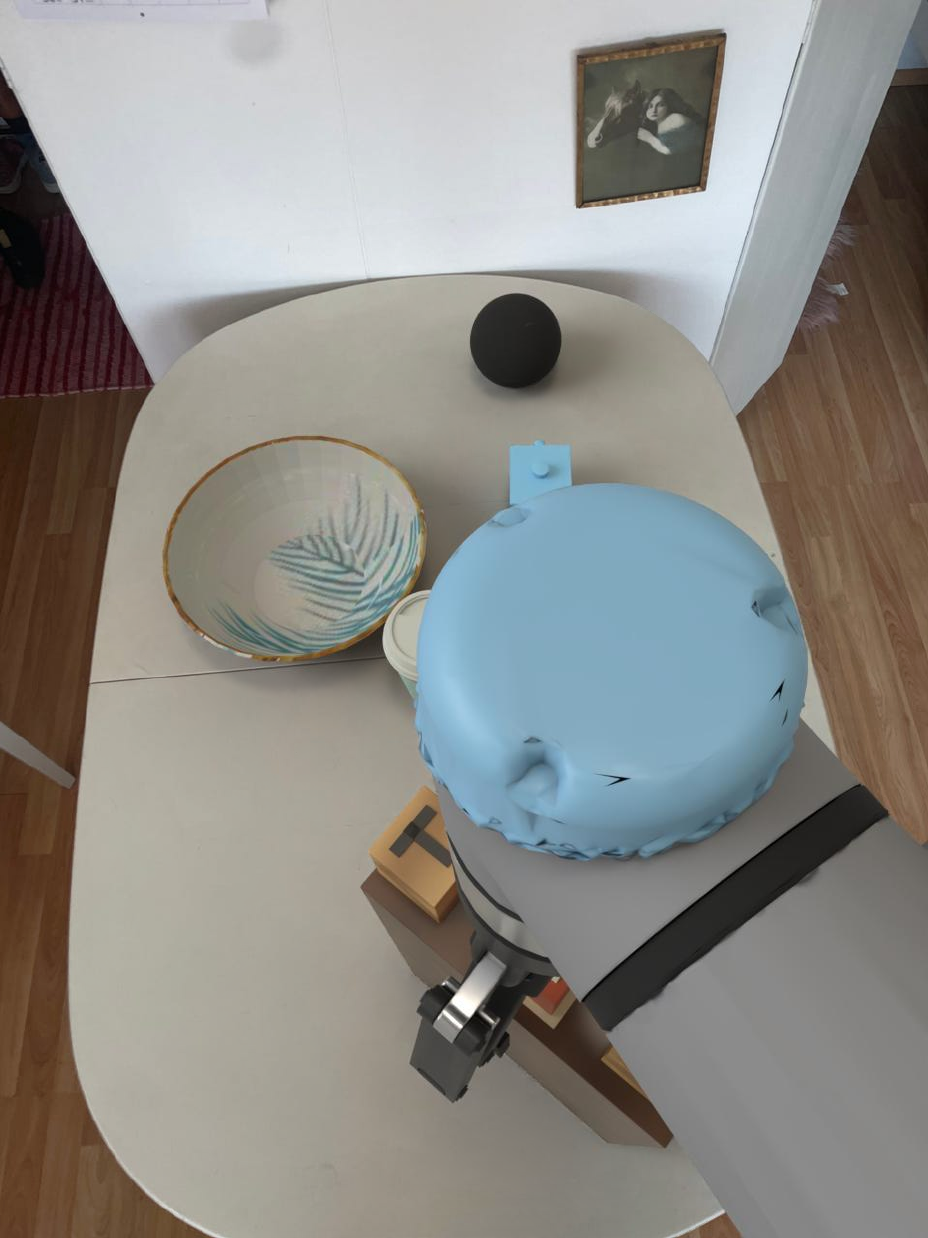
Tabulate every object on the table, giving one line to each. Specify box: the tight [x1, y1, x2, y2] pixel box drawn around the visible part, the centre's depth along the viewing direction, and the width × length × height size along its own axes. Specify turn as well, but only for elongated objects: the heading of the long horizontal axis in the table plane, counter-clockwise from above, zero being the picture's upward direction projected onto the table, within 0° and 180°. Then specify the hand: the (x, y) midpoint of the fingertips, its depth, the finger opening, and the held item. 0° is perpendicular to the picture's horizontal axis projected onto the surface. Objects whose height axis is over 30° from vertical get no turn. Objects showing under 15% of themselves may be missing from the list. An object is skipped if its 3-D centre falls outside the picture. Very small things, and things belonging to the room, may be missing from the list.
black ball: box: [469, 292, 563, 389], centre depth 107 cm, size 10×10×10 cm
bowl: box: [162, 435, 428, 663], centre depth 97 cm, size 25×25×8 cm
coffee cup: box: [382, 589, 431, 702], centre depth 89 cm, size 8×8×12 cm
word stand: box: [359, 785, 675, 1150], centre depth 64 cm, size 20×7×37 cm, turn 51°
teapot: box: [509, 439, 573, 508], centre depth 99 cm, size 12×6×8 cm, turn 179°
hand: (544, 952), depth 51 cm, fingers open, 9 cm apart
